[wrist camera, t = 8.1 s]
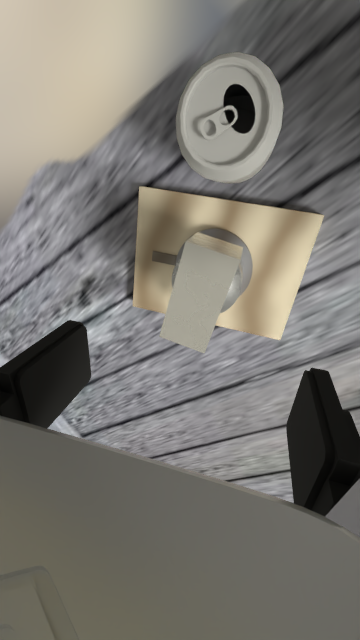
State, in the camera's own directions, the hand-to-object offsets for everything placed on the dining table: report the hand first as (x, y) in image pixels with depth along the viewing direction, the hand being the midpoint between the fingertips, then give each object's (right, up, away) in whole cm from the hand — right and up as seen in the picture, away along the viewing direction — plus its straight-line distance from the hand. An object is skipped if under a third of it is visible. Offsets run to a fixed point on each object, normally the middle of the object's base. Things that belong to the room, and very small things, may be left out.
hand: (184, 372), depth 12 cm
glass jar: (+4, +8, +20) cm, 22 cm away
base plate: (+4, +9, +23) cm, 25 cm away
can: (+6, +21, +17) cm, 27 cm away
